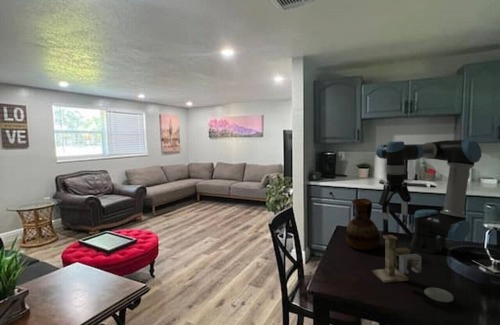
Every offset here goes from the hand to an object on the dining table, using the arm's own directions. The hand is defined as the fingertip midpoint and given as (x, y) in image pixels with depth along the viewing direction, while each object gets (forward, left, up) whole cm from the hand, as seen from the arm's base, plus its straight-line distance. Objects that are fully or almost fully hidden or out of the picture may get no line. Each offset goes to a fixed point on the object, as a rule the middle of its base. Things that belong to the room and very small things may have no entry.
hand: (395, 216), depth 132 cm
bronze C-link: (+5, +10, -19) cm, 22 cm away
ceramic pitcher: (-1, -34, -28) cm, 44 cm away
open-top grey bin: (+5, +17, -19) cm, 26 cm away
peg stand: (+5, +9, -28) cm, 30 cm away
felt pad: (-5, +21, -28) cm, 36 cm away
